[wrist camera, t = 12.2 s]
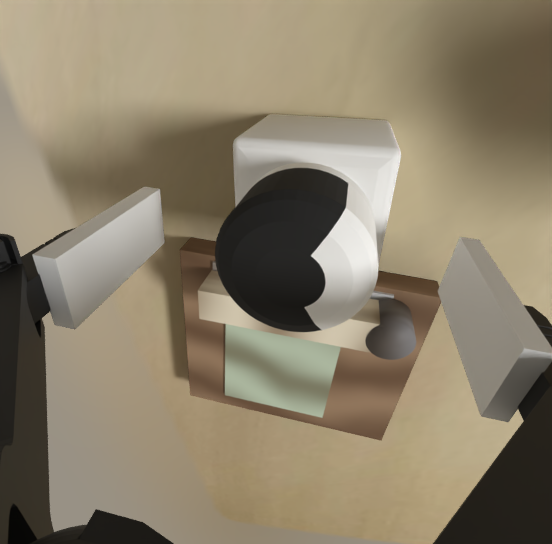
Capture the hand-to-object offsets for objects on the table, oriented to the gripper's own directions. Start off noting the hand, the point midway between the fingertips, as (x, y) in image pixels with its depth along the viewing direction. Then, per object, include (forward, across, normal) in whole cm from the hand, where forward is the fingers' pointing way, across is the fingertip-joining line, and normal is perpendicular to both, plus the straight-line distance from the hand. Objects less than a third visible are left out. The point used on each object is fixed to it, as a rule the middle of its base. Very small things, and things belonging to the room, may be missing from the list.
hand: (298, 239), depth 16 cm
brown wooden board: (+8, 0, +14) cm, 16 cm away
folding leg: (+6, -1, +8) cm, 10 cm away
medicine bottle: (+8, 0, 0) cm, 8 cm away
